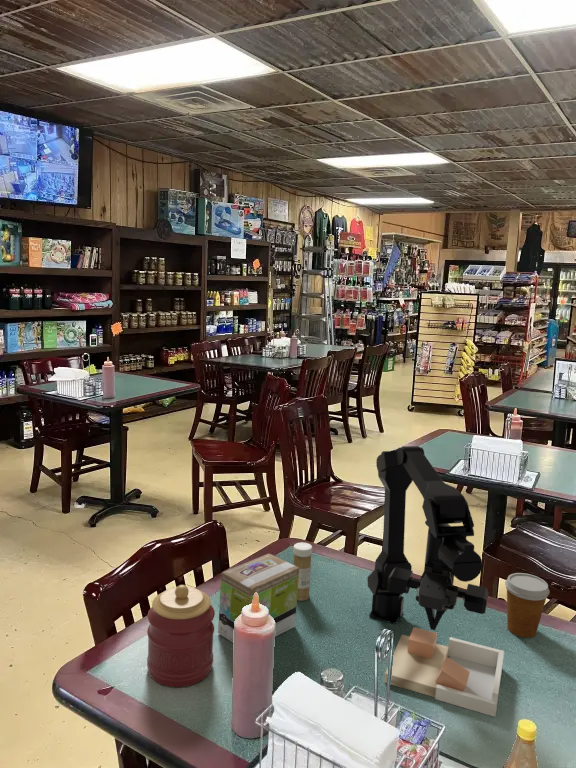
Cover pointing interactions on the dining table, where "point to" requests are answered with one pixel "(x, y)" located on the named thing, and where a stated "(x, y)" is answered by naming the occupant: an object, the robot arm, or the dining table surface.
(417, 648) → the tile back
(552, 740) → the dining table surface
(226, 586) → the tea box
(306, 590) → the sprinkles bottle
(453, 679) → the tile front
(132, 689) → the dining table surface
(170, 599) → the canister
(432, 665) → the birch plate
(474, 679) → the bin
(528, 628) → the disposable coffee cup
